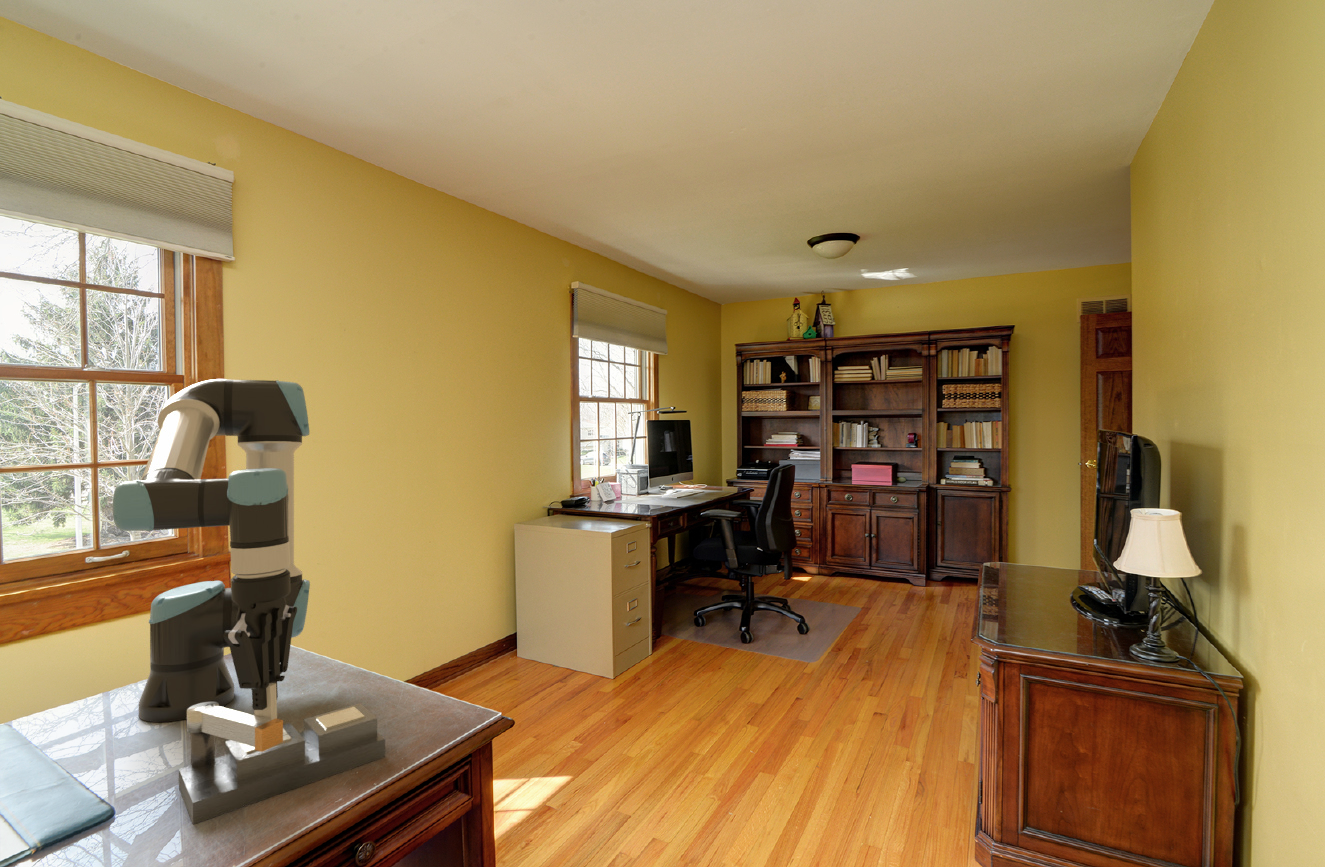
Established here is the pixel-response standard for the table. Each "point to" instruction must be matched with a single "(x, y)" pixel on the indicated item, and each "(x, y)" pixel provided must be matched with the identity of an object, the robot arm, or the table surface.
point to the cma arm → (234, 725)
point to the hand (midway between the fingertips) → (266, 726)
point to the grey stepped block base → (277, 761)
